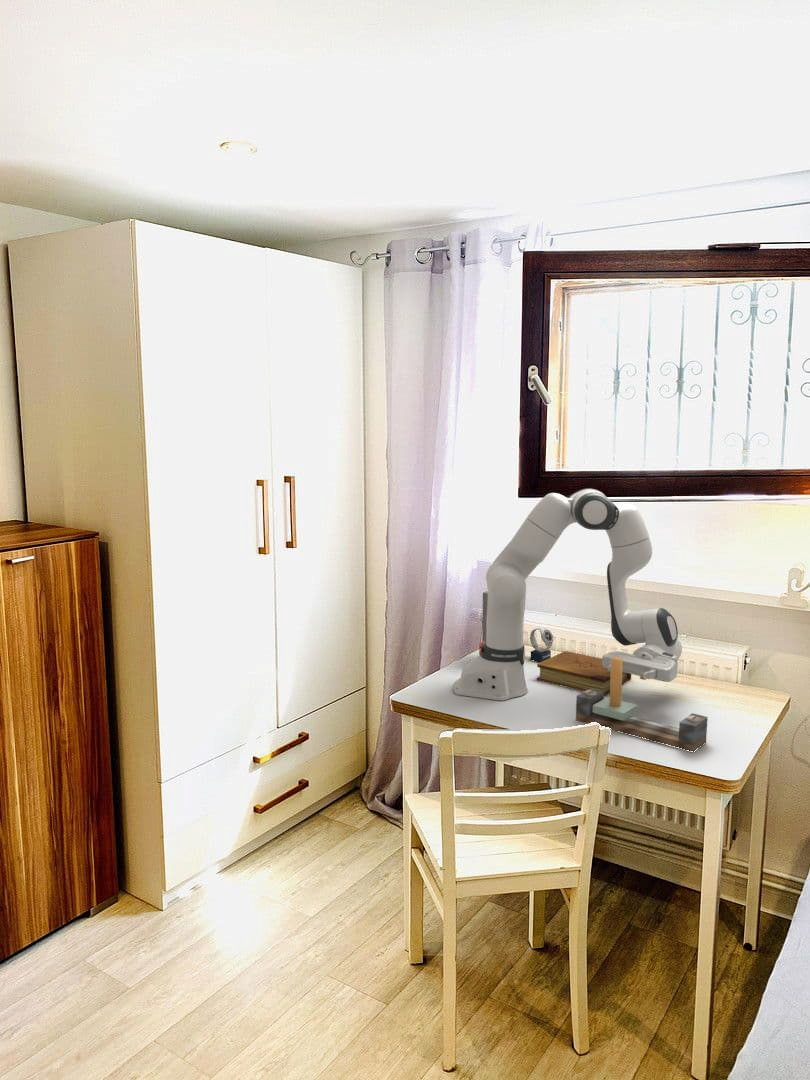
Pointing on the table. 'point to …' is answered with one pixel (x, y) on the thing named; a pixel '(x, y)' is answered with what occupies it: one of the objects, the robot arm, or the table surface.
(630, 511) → the robot arm
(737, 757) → the table surface
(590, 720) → the rail
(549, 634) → the watch
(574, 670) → the diary
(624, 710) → the slider with orange handle
